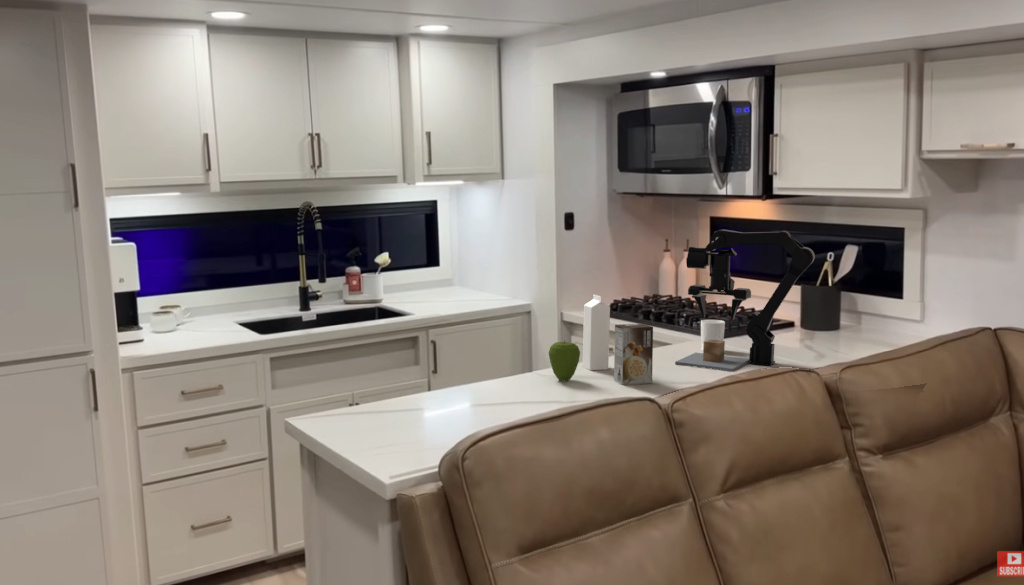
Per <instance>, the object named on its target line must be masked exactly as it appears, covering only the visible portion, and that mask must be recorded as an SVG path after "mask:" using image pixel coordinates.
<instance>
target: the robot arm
mask: <svg viewBox="0 0 1024 585" xmlns="http://www.w3.org/2000/svg"><path fill="white" fill-rule="evenodd" d="M773 244H774V245H781V247H782V248H783V249H784V250H785V251H786V252H787V253H788V254H789V255H790V256H791V257H792V258H791V261H790V263H789V266H788V269H787V271H786V273H785V275H784V276H783V278H782V279H781V281H780V282H779V283H778V285H777V286H776V289H775V290H774V292H773V293H772V295H771V297H770V298H769V299H768V301H767V303H766V304H765V306H764V307H763V309H762V310H761V311H757V310H756V311H754V312H753V313H752V315H751V317H750V320H749V321H748V322H746V325H747V326H746V335H747V336H748V337H749V338H750V339H751V341H752V343H751V346H750V348H749V358H748V359H749V360H750V362H749V364H751V365H759V366H768V367H769V366H772V365H774V364H776V361H775V345H776V344H775V343H773V342H774V339H775V337H776V336H775V335H774V334H773V332H772V331H770V330H769V329H770V327H771V324H772V321H773V319H774V317H775V315H776V313H777V311H778V310H779V308H780V306H781V305H782V303H783V302H784V300H785V299H786V297H787V296H788V294H789V292H790V291H791V290H792V288H793V286H794V285H795V283H796V281H797V280H798V279H799V277H800V276H801V275H802V274H803V273H804V272H805V271H806V270H807V269H808V268H809V267H810V266H811V265H812V264H813V263H814V261H815V258H816V255H815V252H814V251H813V250H812V249H811V248H810V247H808V246H804V245H803V244H801V242H800V241H798V240H797V239H795V237H793V236H792V235H791V234H790V232H788V231H787V230H782V231H756V232H755V231H754V232H751V231H749V232H742V231H736V230H730V229H719V230H715V231H714V232H713V233H712V235H711V236H710V241H709V243H708V244H706V245H705V247H696V246H689V247H688V251H687V256H686V259H685V261H686V268H687V269H698V270H699V269H700V270H705V269H707V267H709V266H710V273H709V277H710V280H709V281H710V282H709V286H708V287H706V285H703V284H692V285H690V286H689V287H688V289H687V295H689V296H691V298H693V299H694V300H695V302H696V303H697V306H698V308H699V311H700V314H701V316H702V318H703V319H705V318H706V314H707V313H706V312H707V311H706V310H707V309H706V298H707V294H708V295H719V296H732V297H734V298H733V299H732V300H731V312H730V319H731V321H734V319H735V317H736V314H737V313H738V309H739V307H740V305H741V304H742V303H743V301H744V302H745V301H746V300H747V299H751V298H752V291H751V289H750V288H745V287H744V288H743V287H737V288H734V287H735V284H736V283H735V280H734V279H733V278H732V277H731V276H732V274H731V271H730V269H731V257H735V256H737V255H738V253H737V252H736V251H735V250H734V249H733V247H736V246H742V245H773ZM726 248H729V249H728V250H727V249H726ZM717 249H719V250H718V252H712V251H716V250H717Z"/></svg>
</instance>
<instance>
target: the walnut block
mask: <svg viewBox="0 0 1024 585" xmlns="http://www.w3.org/2000/svg"><path fill="white" fill-rule="evenodd" d="M725 344H726V341H725V340H723V341H720V340H711V339H709V340H707V341H704V350H703V351H702V352H703V361H710V362H718V363H719V362H721V361H723V360H724V356H725V346H726V345H725Z"/></svg>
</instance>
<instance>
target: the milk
mask: <svg viewBox="0 0 1024 585" xmlns="http://www.w3.org/2000/svg"><path fill="white" fill-rule="evenodd" d="M592 297H593V298H592V299H591V300H590V301H588V302H586V303H585V304H584V305H583V326H582V327H583V328H582V330H583V333H582V334H583V335H582V341H583V342H582V367H583V368H585V369H587V370H588V371H600V370H601V371H602V370H606V371H607V370H609V359H610V358H609V356H610V355H609V354H610V352H609V351H610V322H611V321H610V320H611V317H610V316H611V306H610V305H608V304H606V303H604V302H602V296H601V295H597V294H593V295H592Z"/></svg>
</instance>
